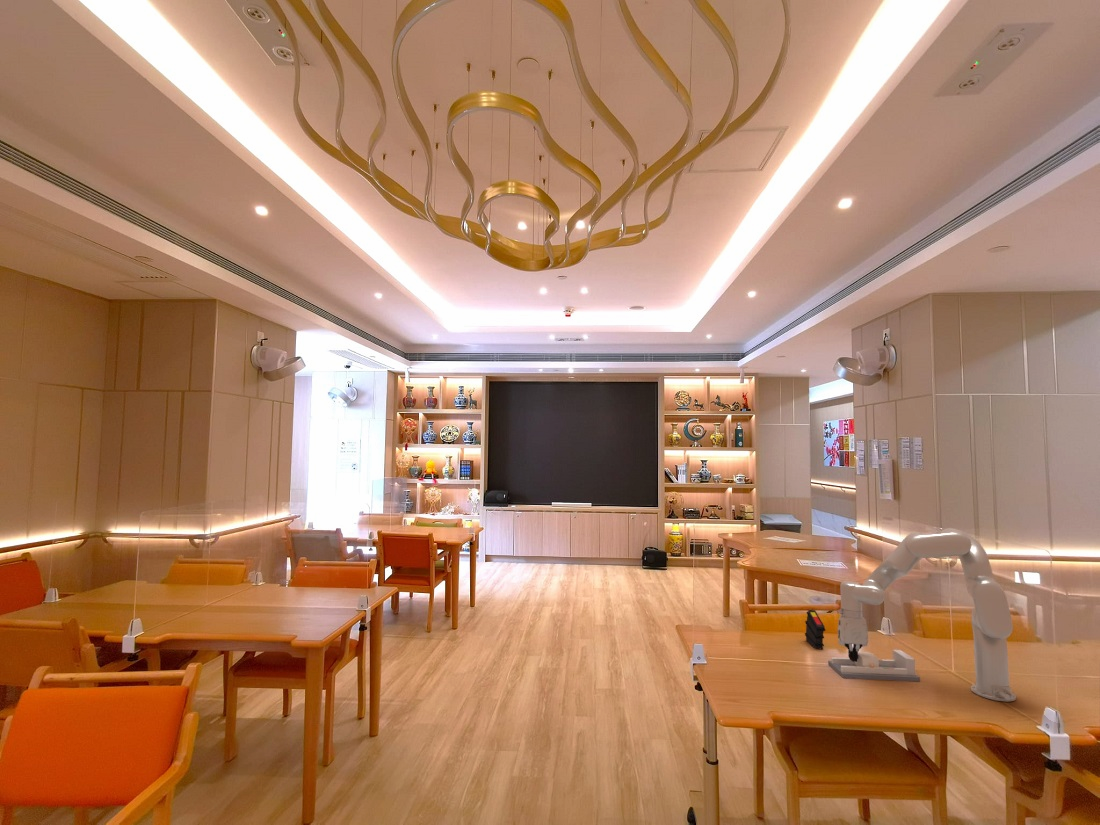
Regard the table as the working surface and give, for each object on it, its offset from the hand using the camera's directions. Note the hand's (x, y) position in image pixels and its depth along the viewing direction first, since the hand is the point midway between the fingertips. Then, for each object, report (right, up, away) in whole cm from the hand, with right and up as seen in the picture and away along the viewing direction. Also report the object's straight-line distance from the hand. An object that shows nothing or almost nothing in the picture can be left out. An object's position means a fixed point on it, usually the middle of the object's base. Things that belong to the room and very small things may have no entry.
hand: (853, 660), depth 217 cm
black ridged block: (-1, -7, +29) cm, 30 cm away
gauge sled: (+5, -3, -1) cm, 6 cm away
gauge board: (+7, -4, -1) cm, 8 cm away
